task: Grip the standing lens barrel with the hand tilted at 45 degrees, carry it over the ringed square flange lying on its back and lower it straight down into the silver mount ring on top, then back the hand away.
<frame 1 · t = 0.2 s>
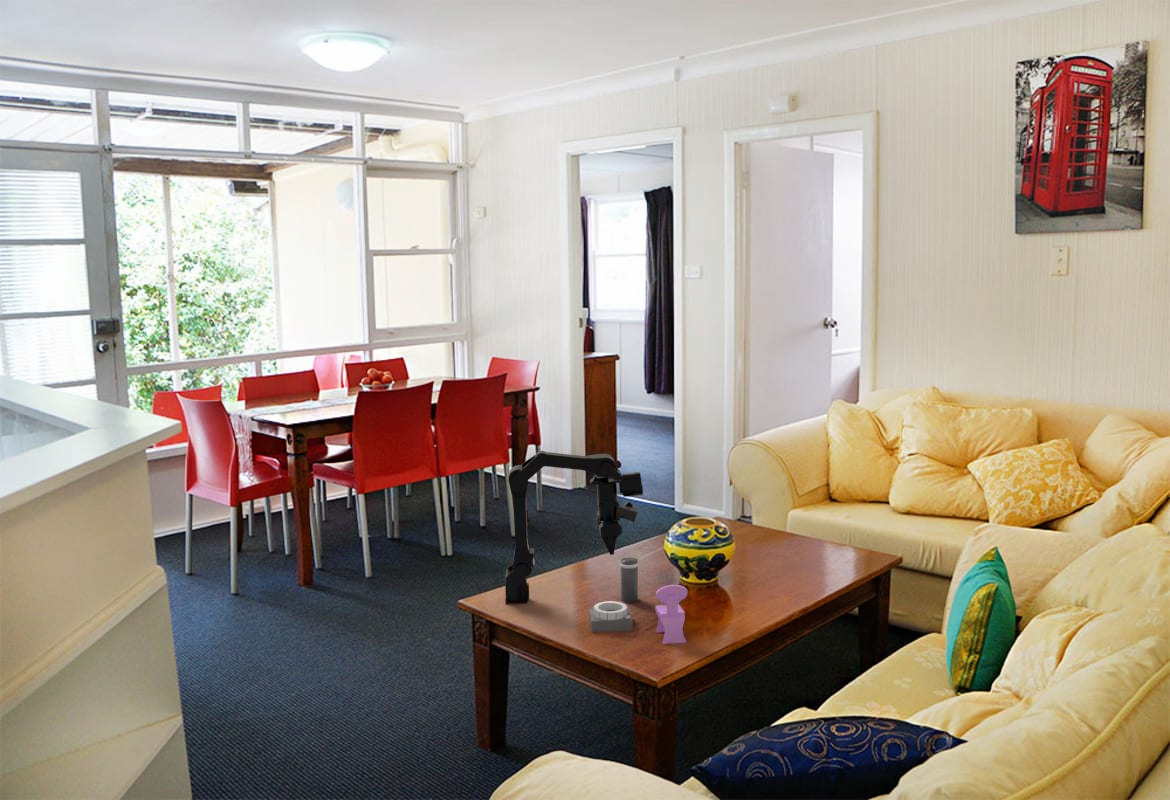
hand: (610, 549, 279), 14 cm above the table, fingers open, 9 cm apart
lens: (629, 599, 278), on the table
ringed square flange: (610, 624, 259), on the table
toy chair: (670, 637, 250), on the table
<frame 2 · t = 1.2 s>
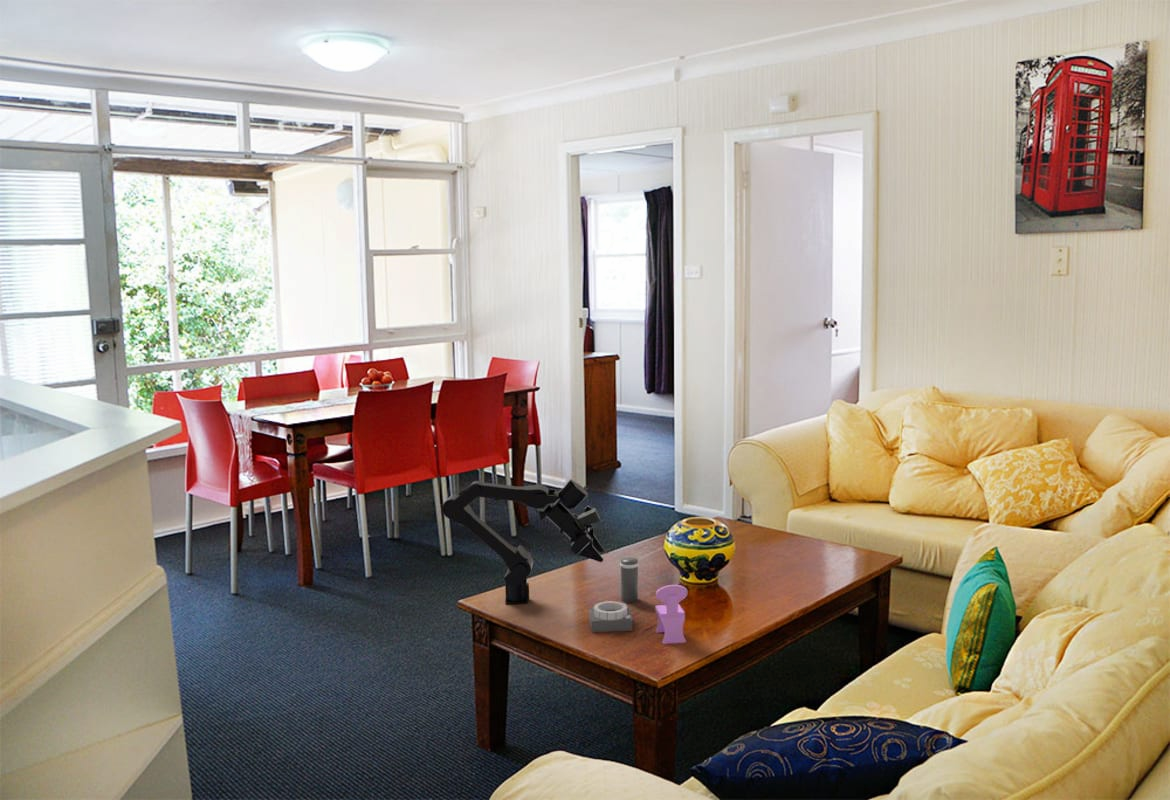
hand: (602, 556, 276), 13 cm above the table, fingers open, 9 cm apart
nothing on the table moved.
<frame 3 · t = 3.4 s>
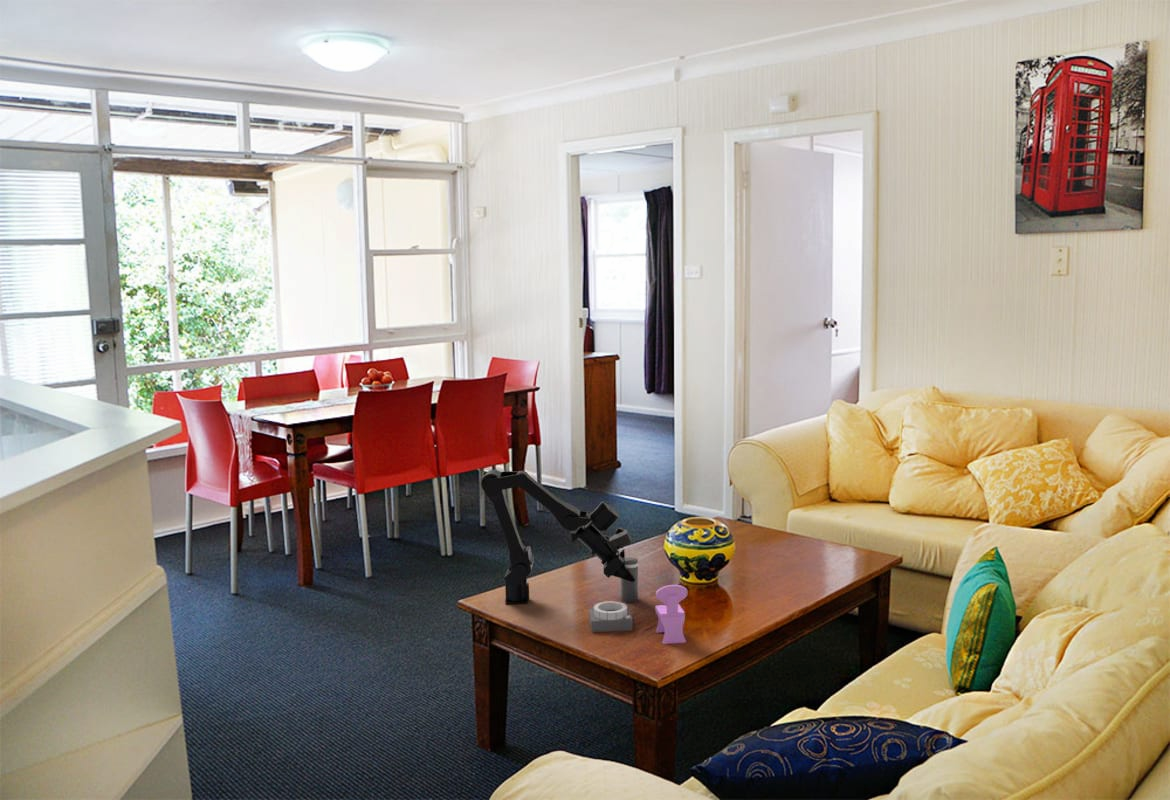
hand: (634, 577, 277), 7 cm above the table, fingers closed on lens, 5 cm apart
lens: (629, 599, 278), on the table, touching gripper
everything else where it was.
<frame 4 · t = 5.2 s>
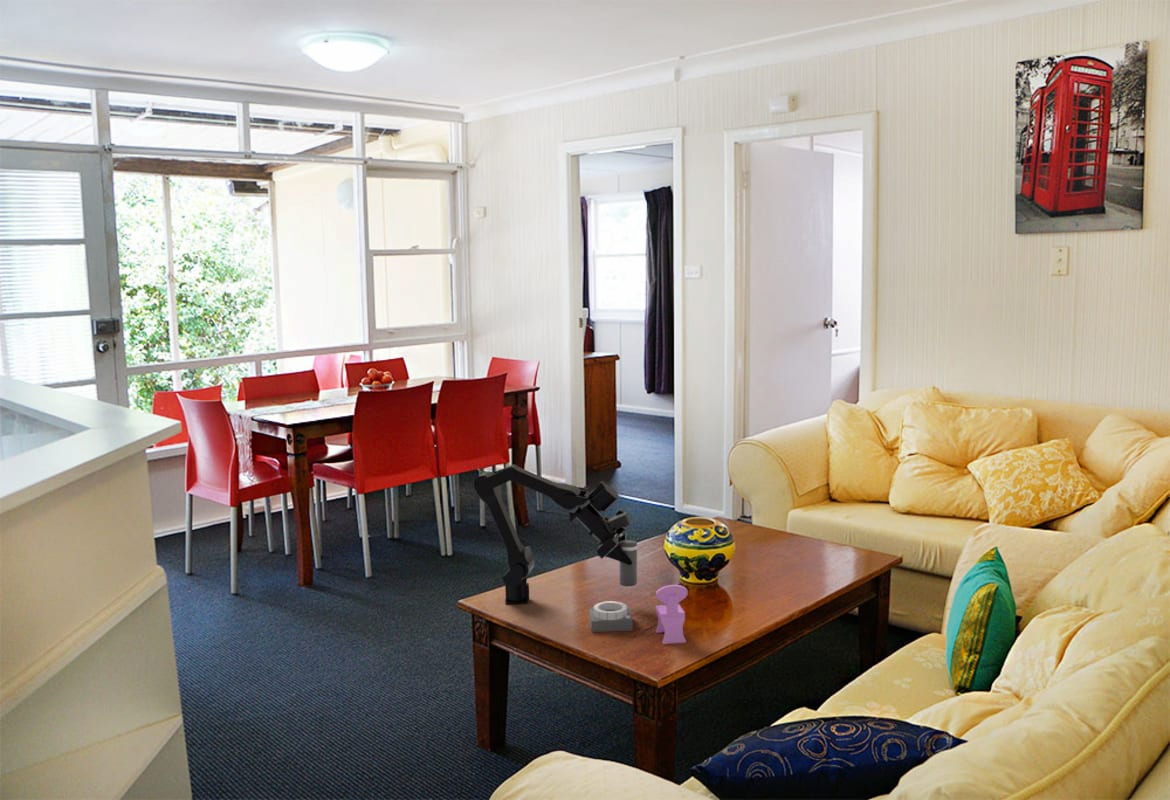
hand: (632, 561, 270), 13 cm above the table, fingers closed on lens, 5 cm apart
lens: (628, 583, 272), point 7 cm above the table, touching gripper
everything else where it was.
when the fingers open (10 cm above the table, at t = 7.3 s): lens stays where it is, resting on ringed square flange.
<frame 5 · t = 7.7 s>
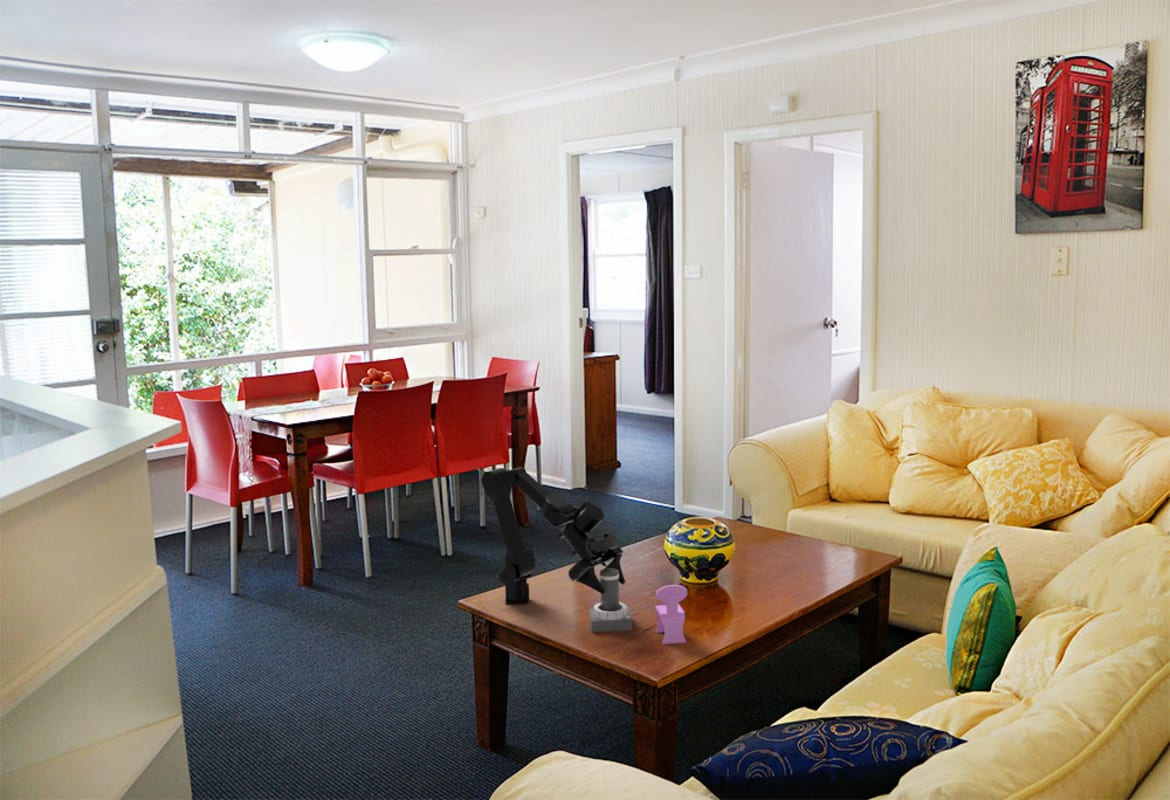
hand: (614, 588, 257), 11 cm above the table, fingers open, 9 cm apart
lens: (610, 613, 258), point 3 cm above the table, touching ringed square flange
everything else where it was.
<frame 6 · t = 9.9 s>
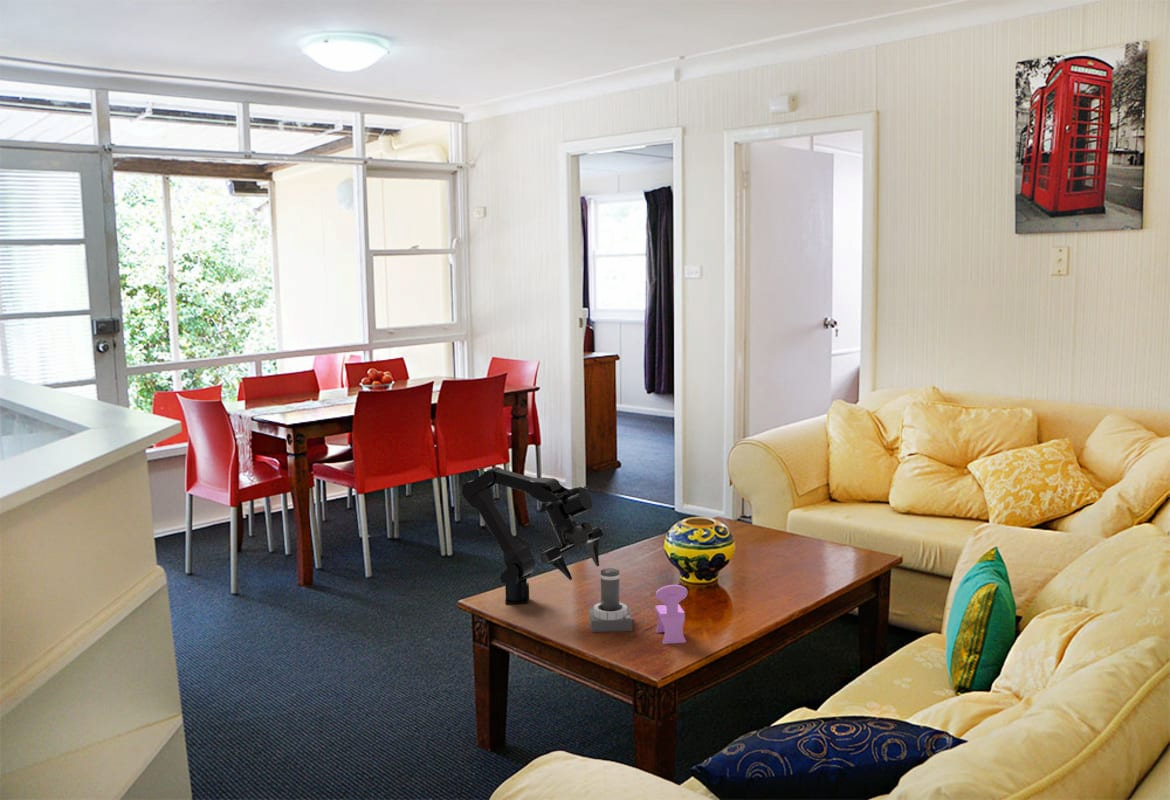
hand: (584, 572, 267), 12 cm above the table, fingers open, 9 cm apart
nothing on the table moved.
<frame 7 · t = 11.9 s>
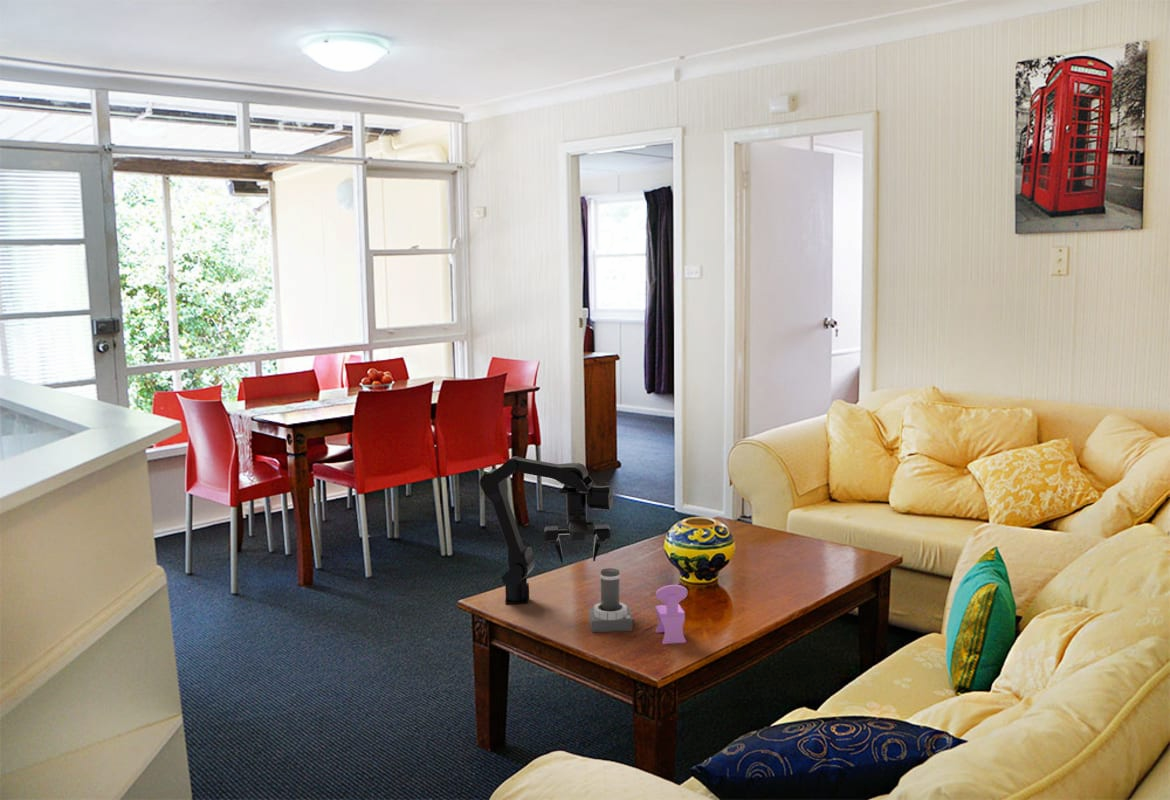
hand: (577, 561, 273), 13 cm above the table, fingers open, 9 cm apart
nothing on the table moved.
at the end: lens 0.1 cm off-centre on the ringed square flange, point 3.0 cm above the ringed square flange's base; lens tilted 1°; the gripper is holding nothing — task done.
